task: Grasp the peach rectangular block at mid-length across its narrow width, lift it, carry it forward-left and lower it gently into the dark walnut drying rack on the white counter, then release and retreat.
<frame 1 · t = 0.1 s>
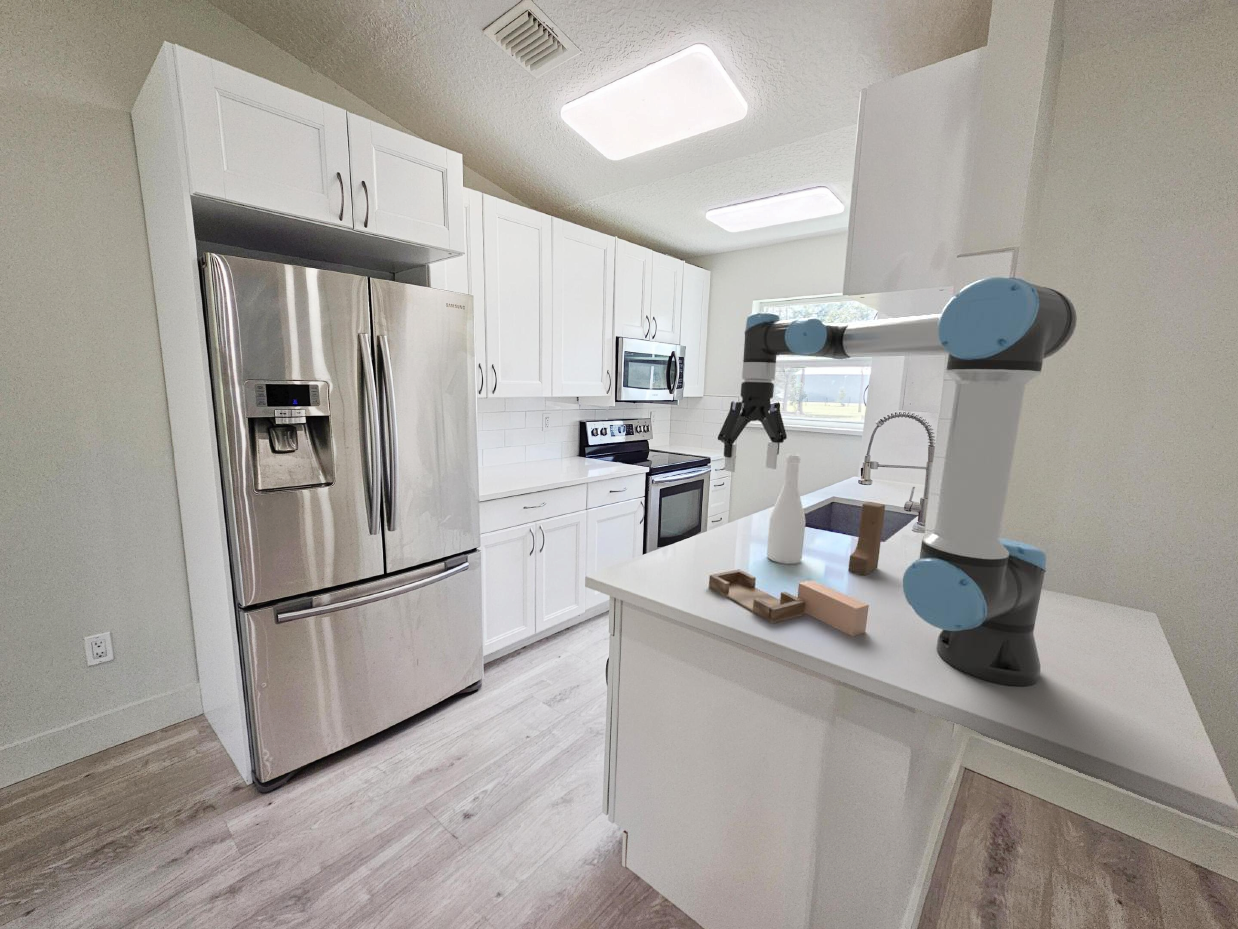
hand: (750, 469, 122), 28 cm above the counter, fingers open, 13 cm apart
wooden block: (862, 570, 136), on the counter
wine bottle: (783, 559, 142), on the counter
peach rectangular block: (829, 620, 106), on the counter
rack: (753, 600, 114), on the counter
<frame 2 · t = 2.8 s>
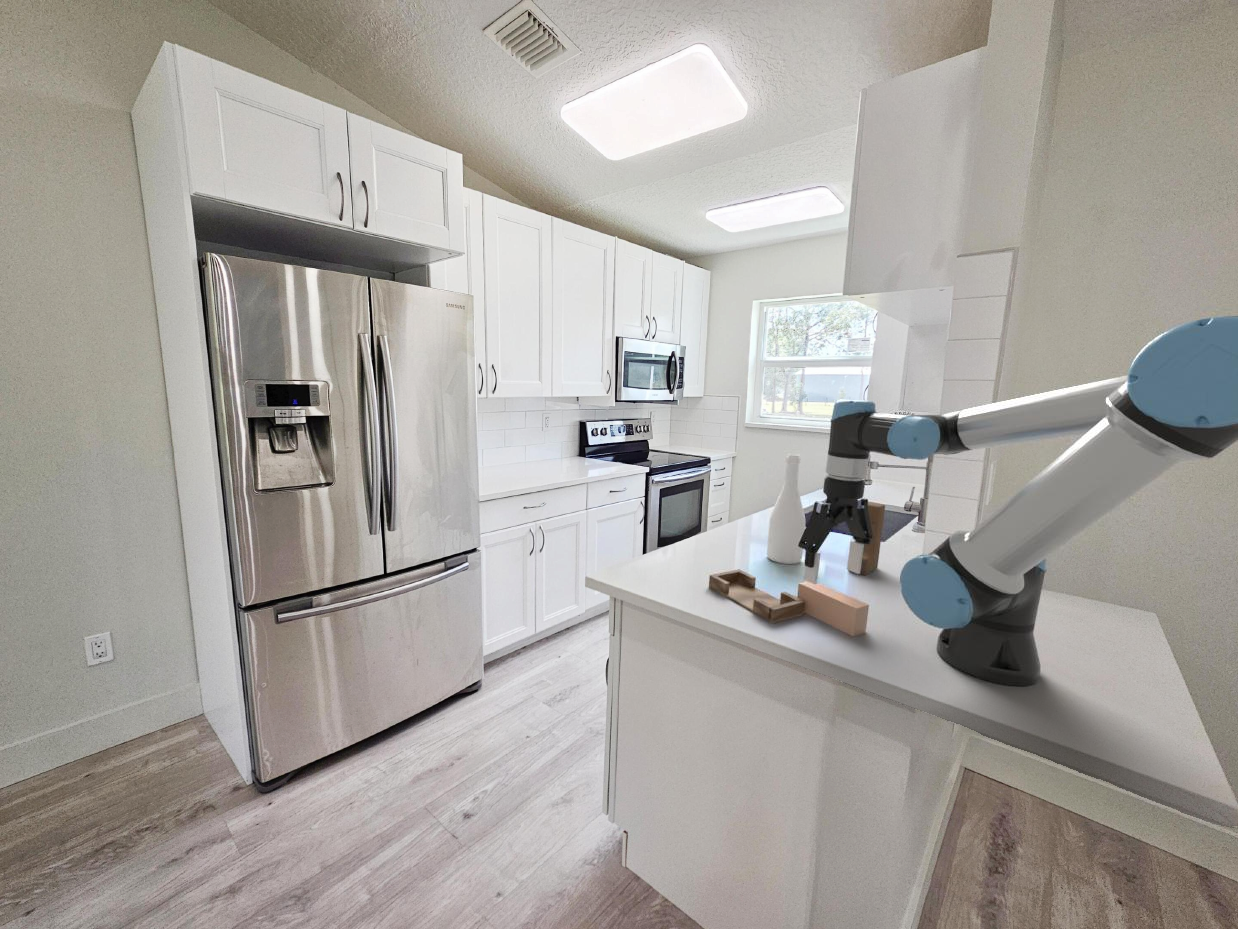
hand: (832, 576, 105), 9 cm above the counter, fingers open, 13 cm apart
nothing on the counter moved.
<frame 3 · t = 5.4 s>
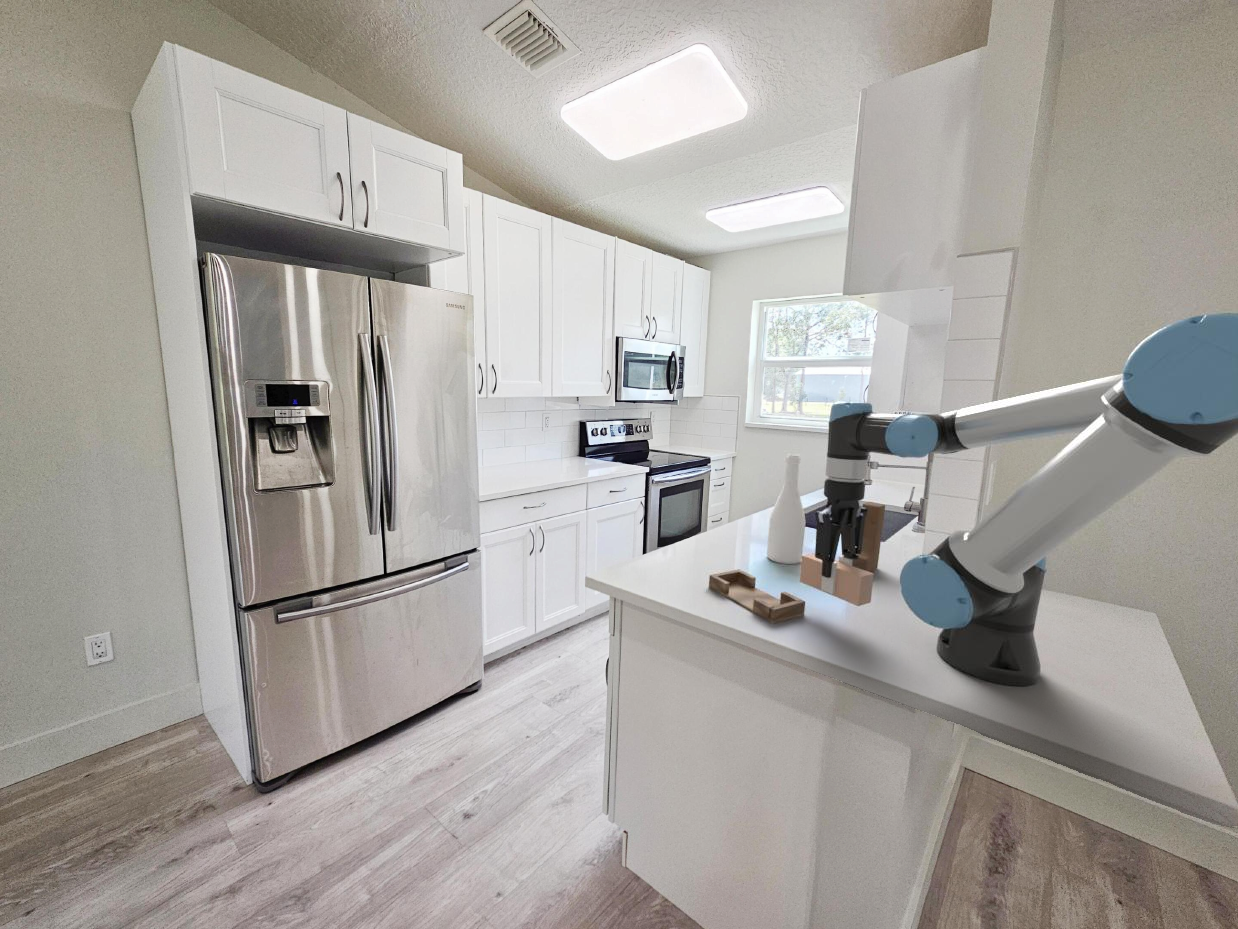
hand: (835, 589, 104), 7 cm above the counter, fingers closed on peach rectangular block, 4 cm apart
peach rectangular block: (833, 591, 105), point 6 cm above the counter, touching gripper
everything else where it was.
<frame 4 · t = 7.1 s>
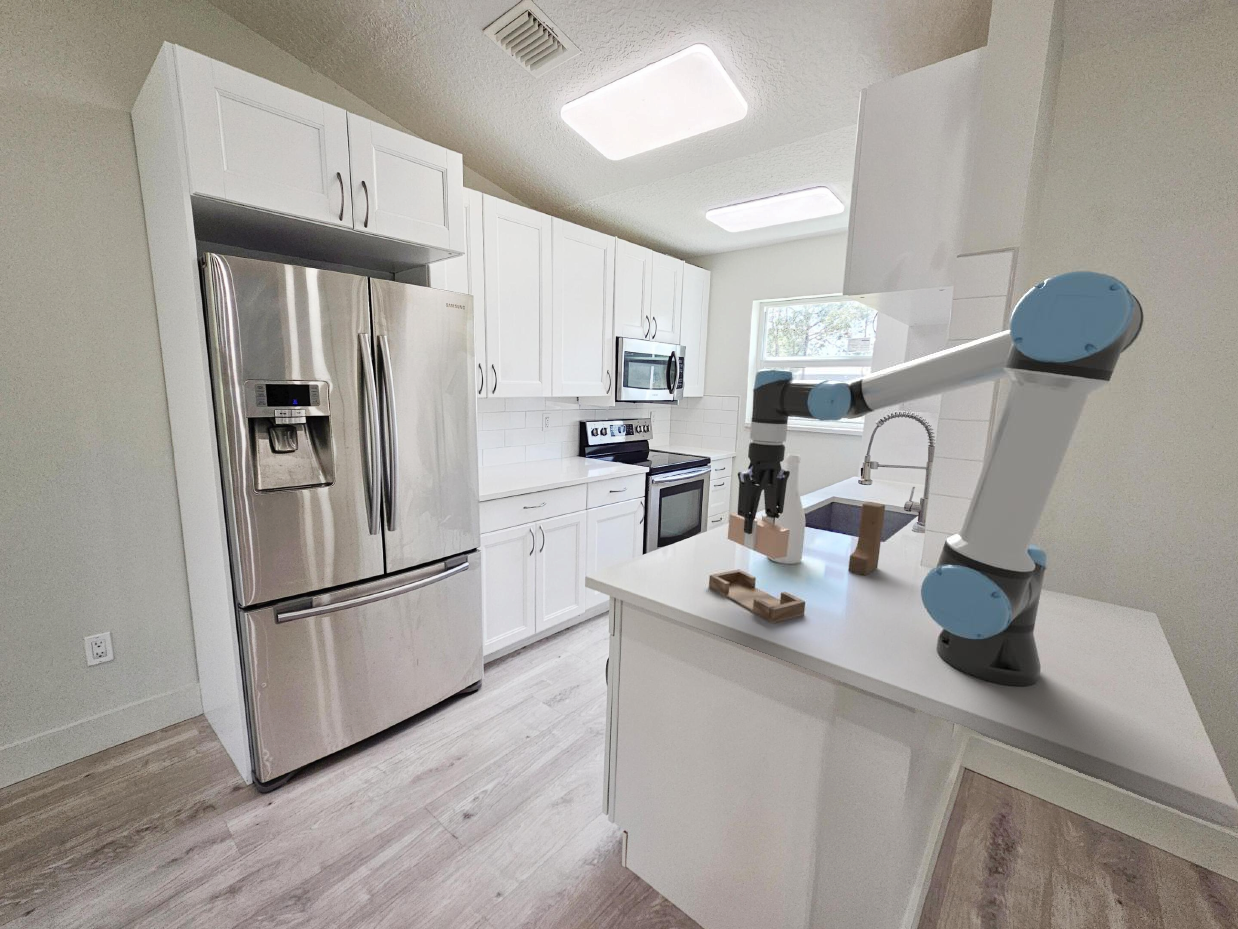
hand: (757, 545, 112), 13 cm above the counter, fingers closed on peach rectangular block, 4 cm apart
peach rectangular block: (755, 547, 113), point 12 cm above the counter, touching gripper
everything else where it was.
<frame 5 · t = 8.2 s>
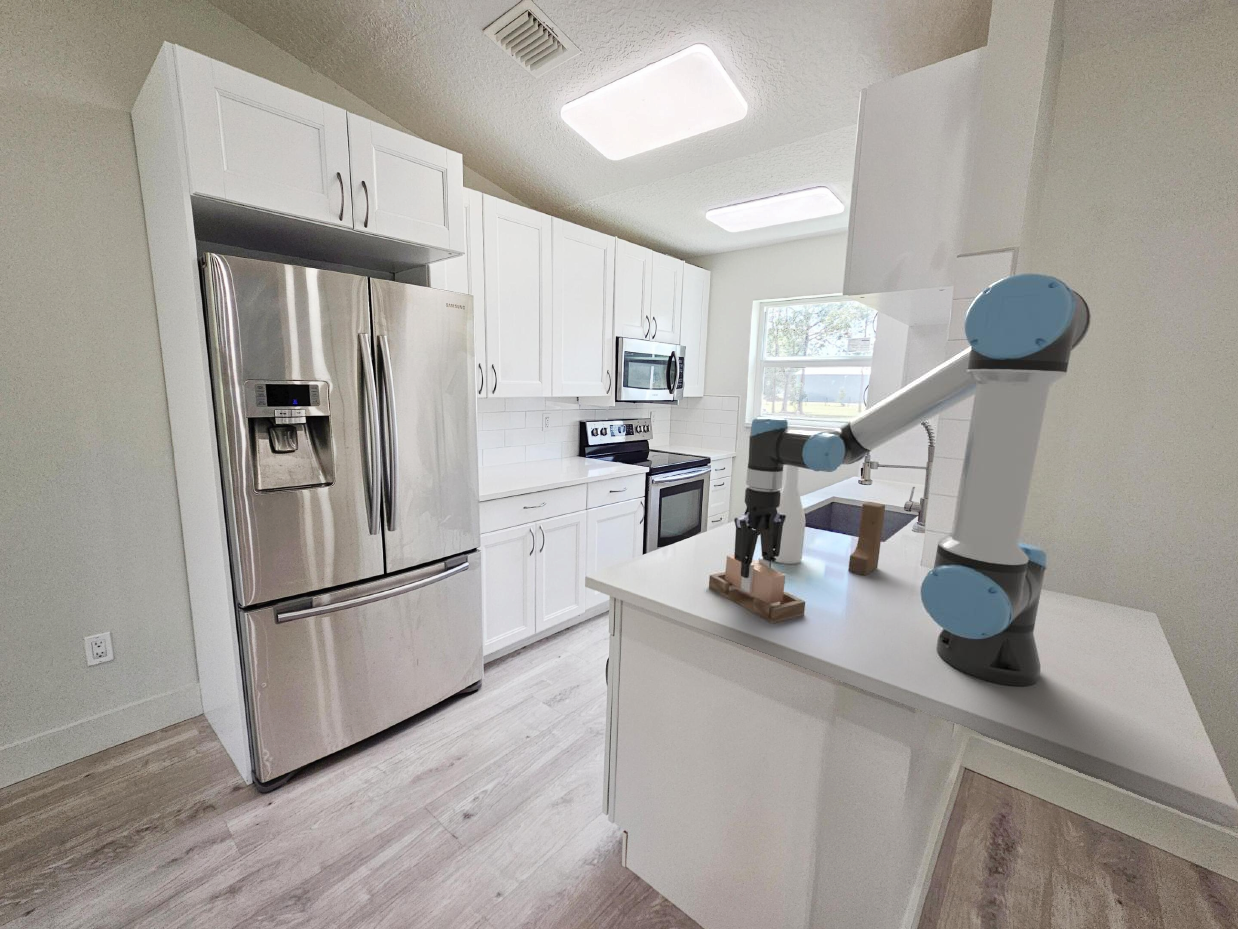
hand: (754, 588, 114), 3 cm above the counter, fingers closed on peach rectangular block, 4 cm apart
peach rectangular block: (752, 589, 114), point 2 cm above the counter, touching gripper
everything else where it was.
when the fingers open (1 cm above the counter, at t = 8.8 s): peach rectangular block stays where it is, resting on rack.
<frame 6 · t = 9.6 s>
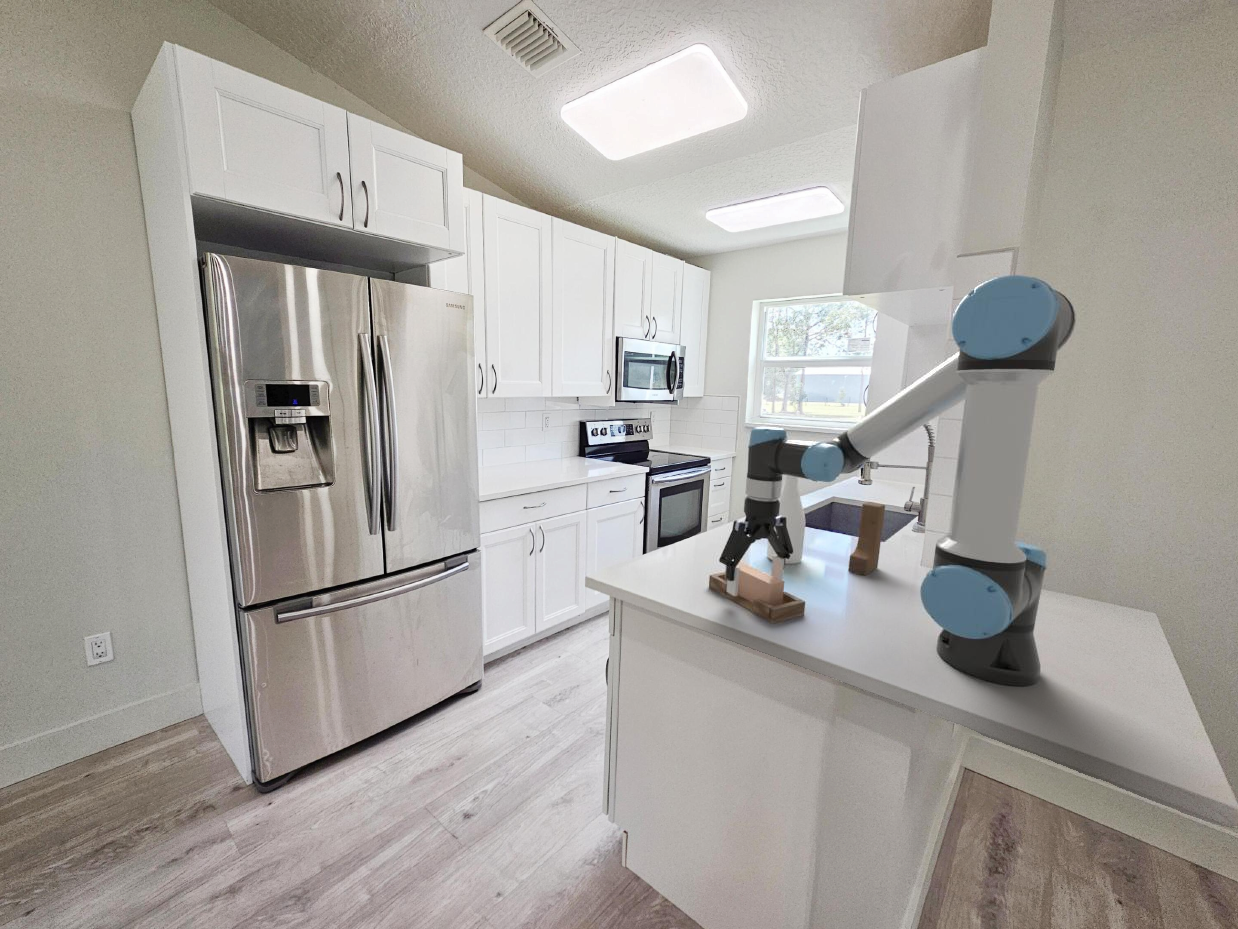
hand: (754, 588, 114), 3 cm above the counter, fingers open, 13 cm apart
peach rectangular block: (751, 597, 115), resting on rack
everything else where it was.
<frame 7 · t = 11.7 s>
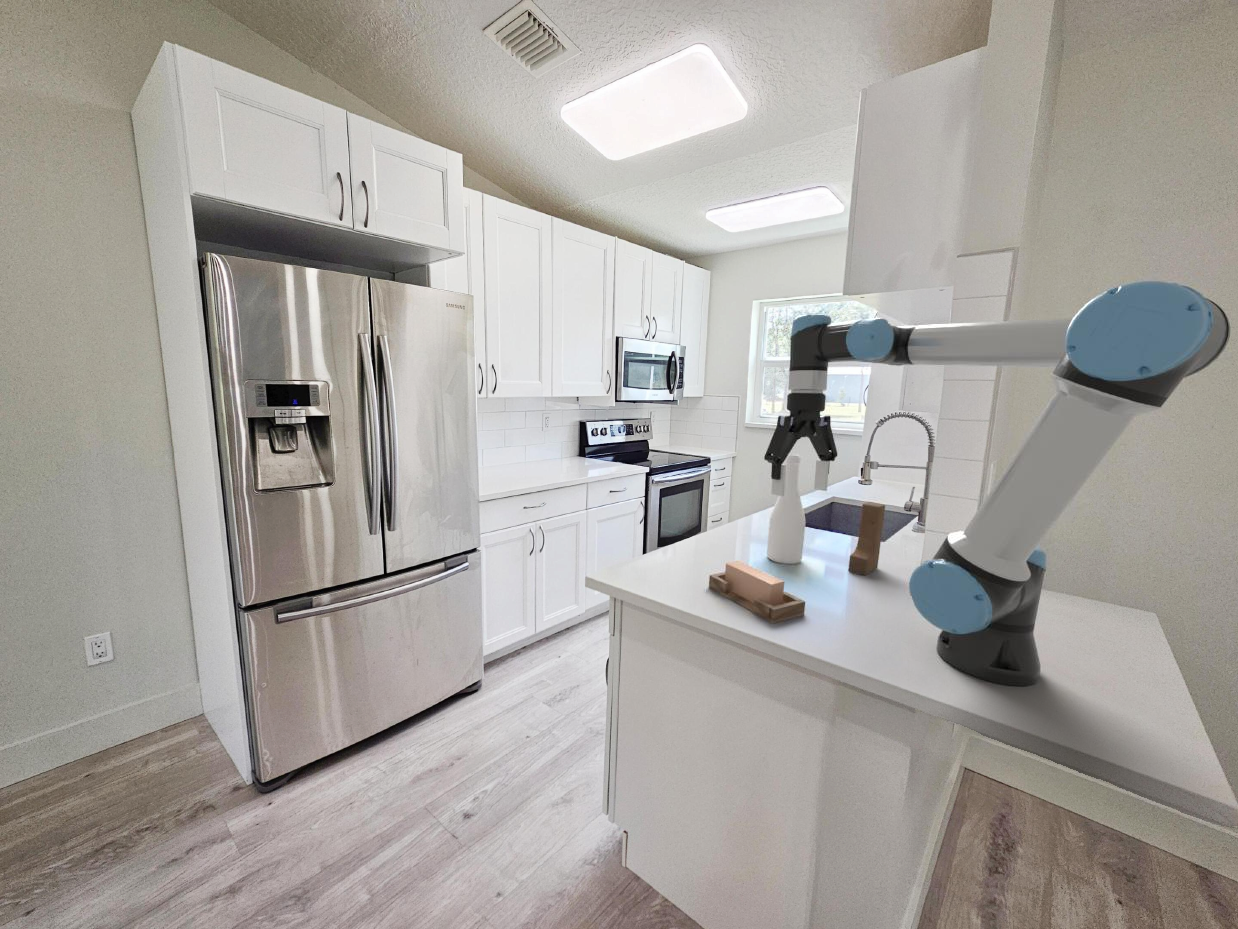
hand: (799, 492, 107), 26 cm above the counter, fingers open, 13 cm apart
nothing on the counter moved.
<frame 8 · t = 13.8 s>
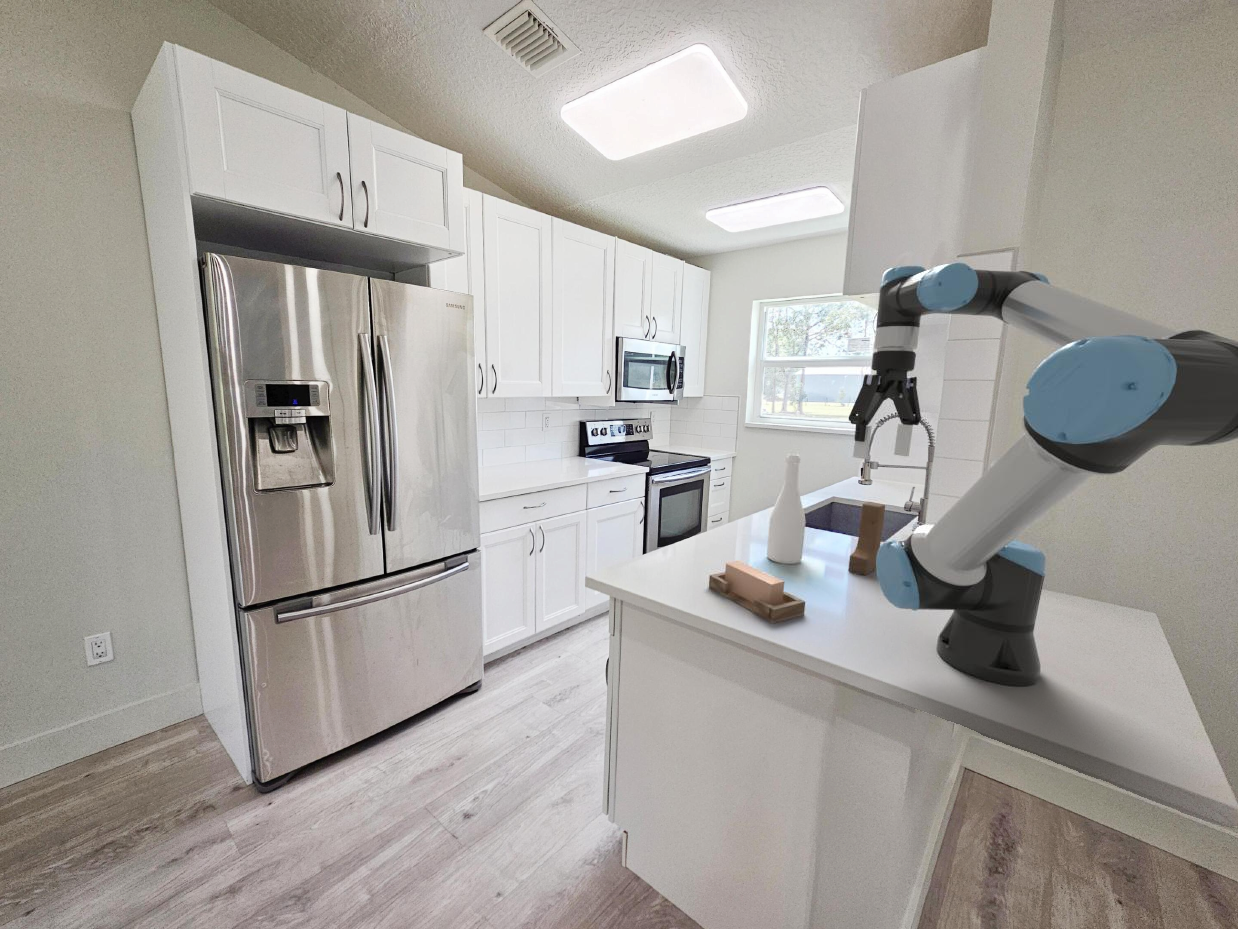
hand: (881, 456, 103), 35 cm above the counter, fingers open, 13 cm apart
nothing on the counter moved.
at the end: peach rectangular block inside the target area on the rack (0.6 cm from its centre), point 0.5 cm above the rack's base; peach rectangular block tilted 0°; the gripper is holding nothing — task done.
